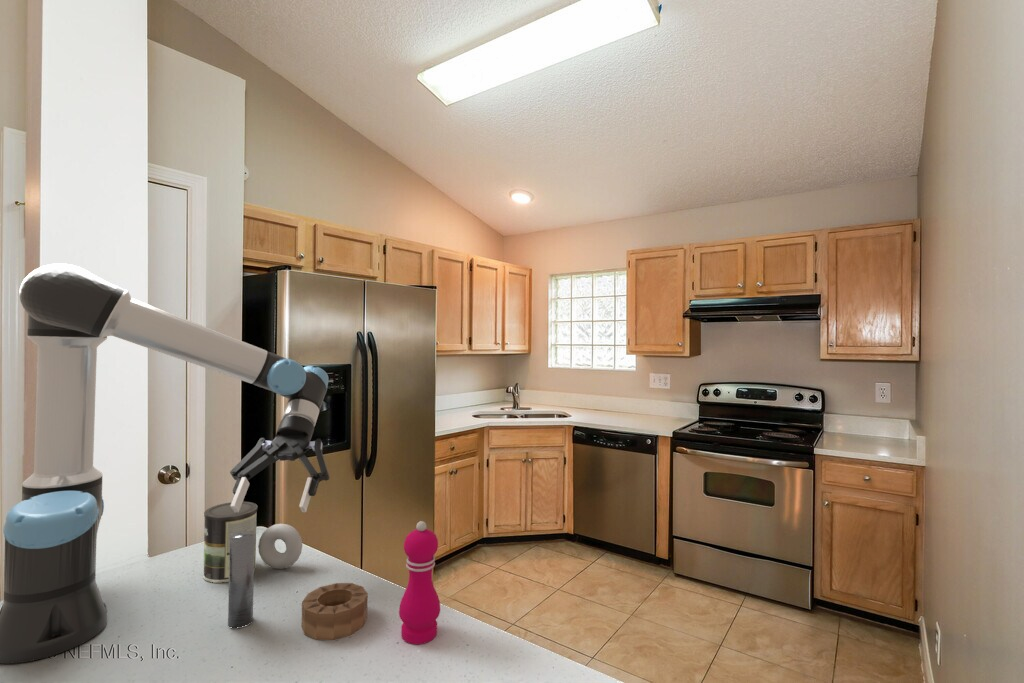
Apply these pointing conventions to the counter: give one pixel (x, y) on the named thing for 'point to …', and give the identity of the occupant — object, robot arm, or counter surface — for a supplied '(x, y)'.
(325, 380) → the robot arm
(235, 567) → the metal cylinder peg
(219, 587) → the counter surface
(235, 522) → the coffee can
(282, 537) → the donut
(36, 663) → the counter surface
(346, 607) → the bead
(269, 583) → the counter surface
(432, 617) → the pepper mill
